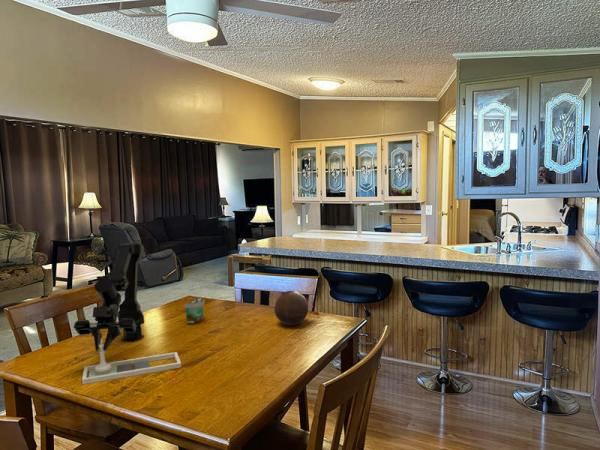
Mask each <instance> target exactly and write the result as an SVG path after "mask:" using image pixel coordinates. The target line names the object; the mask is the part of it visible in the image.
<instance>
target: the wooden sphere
mask: <svg viewBox="0 0 600 450" xmlns="http://www.w3.org/2000/svg"><path fill="white" fill-rule="evenodd" d="M273 307H274V314H275V317H276V318H277V320H279V321H280V323H282V324H284V325H287V326H295V325H299V324H300V323H302V322H303V321H304V320H305V319H306V317H307V315H308V313H309V304H308V301H307V299H306V298H305V296H304V295H303V294H302V293H301V292H298V291H296V290H288V291H284V292H282V293H281V294H280V295H278V297H277V298H276V301H275V302H274V306H273Z"/></svg>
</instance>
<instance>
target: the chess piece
mask: <svg viewBox="0 0 600 450" xmlns="http://www.w3.org/2000/svg"><path fill="white" fill-rule="evenodd" d="M98 346H99V350H98V354H100V358H99V359H100V360H99V365H98V364H96V365H97V366H96V367H95V371H98V372H101V371H106V370H109V369H110V368H111V364H109V363H110V362H106V361H107V360H106V358H105V354H106V352H107V350H106V351H104V350H103V348H104V343H103V338H101V342H100V344H99V345H98Z"/></svg>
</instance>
